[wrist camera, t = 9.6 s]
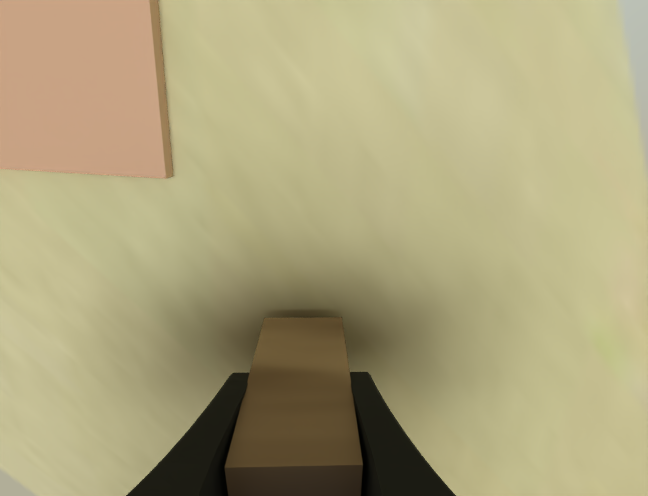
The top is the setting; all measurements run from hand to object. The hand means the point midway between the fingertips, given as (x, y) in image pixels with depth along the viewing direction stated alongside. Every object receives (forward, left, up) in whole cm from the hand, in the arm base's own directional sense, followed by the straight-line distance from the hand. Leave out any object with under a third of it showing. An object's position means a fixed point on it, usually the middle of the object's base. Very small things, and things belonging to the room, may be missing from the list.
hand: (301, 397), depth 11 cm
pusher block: (0, 0, -3) cm, 3 cm away
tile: (+7, +8, -4) cm, 11 cm away
